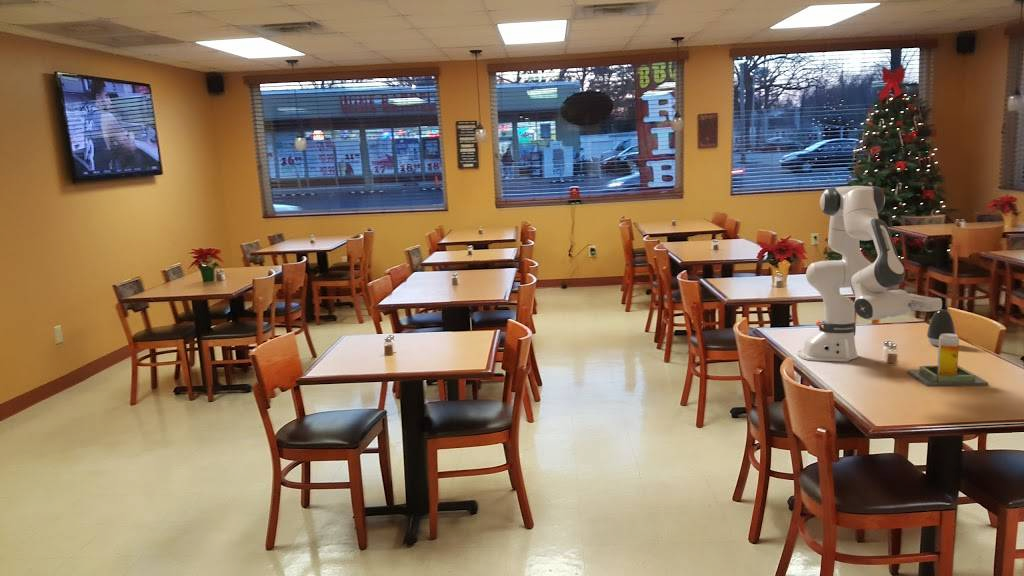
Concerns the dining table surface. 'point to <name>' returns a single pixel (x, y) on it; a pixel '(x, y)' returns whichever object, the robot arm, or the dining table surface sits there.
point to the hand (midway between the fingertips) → (926, 298)
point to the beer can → (948, 354)
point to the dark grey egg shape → (940, 326)
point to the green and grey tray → (946, 377)
